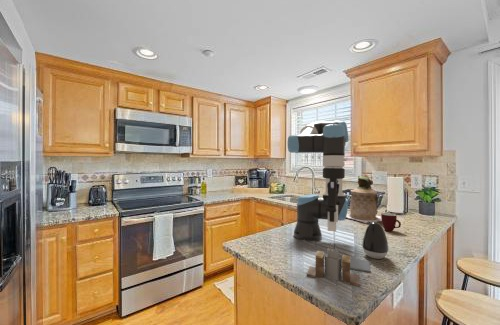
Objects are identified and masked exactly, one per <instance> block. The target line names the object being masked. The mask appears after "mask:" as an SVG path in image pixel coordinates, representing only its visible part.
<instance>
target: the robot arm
mask: <svg viewBox="0 0 500 325" xmlns="http://www.w3.org/2000/svg"><path fill="white" fill-rule="evenodd" d="M347 125H348V124H347V122H345V121H344V120H332V121H315V122H311V123H309V124H306V125H304V126H303V127H302V128H301V129H300V132H299V134H293V135H288V138H287V151H288V152H289V153H293V154H301V153H302V154H304V153H305V154H306V153H308V154H309V153H315V154H316V153H319V154H320V153H322V167H323V168H322V178H323V179H325V191H324V193H323V194H322V197H320V196H319V194H303V195H300V196H298V197H297V200H296V201H297V202H296V214H297V215H296V224H295V227H294V230H293V237H294V238H295V239H298V240H301V241H306V242H313V241H320V240H321V239H322V235H323V234H322V232H321V228H320V225H319V220H327V231H328V232H337V223H339V222H340V221H342V222H343V221H345V220H346V216H347V214H348V210H349V209H348V208H349V198H346V194H345V193H344V192H343V180H344V178H346V177H345V172H346V171H345V168H344V167H345V162H347V160H348V159H347V158H346V157H345V156H346V154H345V150H346V149H345V146H346V143H347V142H349V132H348V131H349V130H348V126H347Z"/></svg>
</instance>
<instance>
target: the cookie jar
mask: <svg viewBox="0 0 500 325" xmlns="http://www.w3.org/2000/svg"><path fill="white" fill-rule="evenodd" d="M357 178H358V179H357V184H358V187H356V188H354V189H351V190H350V194H351V196H350V202H349V203H350V204H349V211H350V212H349V213H347V216H346V218H347V219H349V220H354V221H356V222H357V221H358V222H360V223H363V224H365V225H366V224H367V225H368V221H370V222H371V223H372V222H377V223H380V222H382V219H381V215H377V214H378V209H379V207H378V192H377V191H376V190H375V189H373V188H372V185H374V182H373V180H372V179H370V178H369V177H367V176H361V175H357Z"/></svg>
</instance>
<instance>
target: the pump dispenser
mask: <svg viewBox="0 0 500 325" xmlns="http://www.w3.org/2000/svg"><path fill="white" fill-rule="evenodd" d="M367 225H368V226H367V227H366V229H365V232H364V234H363V237H362V242H361V243H362V245H361V246H362V249H363V252H364V253H365V255H366V256H368V257H369V258H371V259H375V260H380V259H385V257H386V256H387V254H388V253H389V243H388V238H387V235H386V232H385V229H384V227H383V225H382V224H381V223H380V222H372V223H371V222H370V221H368V223H367Z"/></svg>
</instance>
